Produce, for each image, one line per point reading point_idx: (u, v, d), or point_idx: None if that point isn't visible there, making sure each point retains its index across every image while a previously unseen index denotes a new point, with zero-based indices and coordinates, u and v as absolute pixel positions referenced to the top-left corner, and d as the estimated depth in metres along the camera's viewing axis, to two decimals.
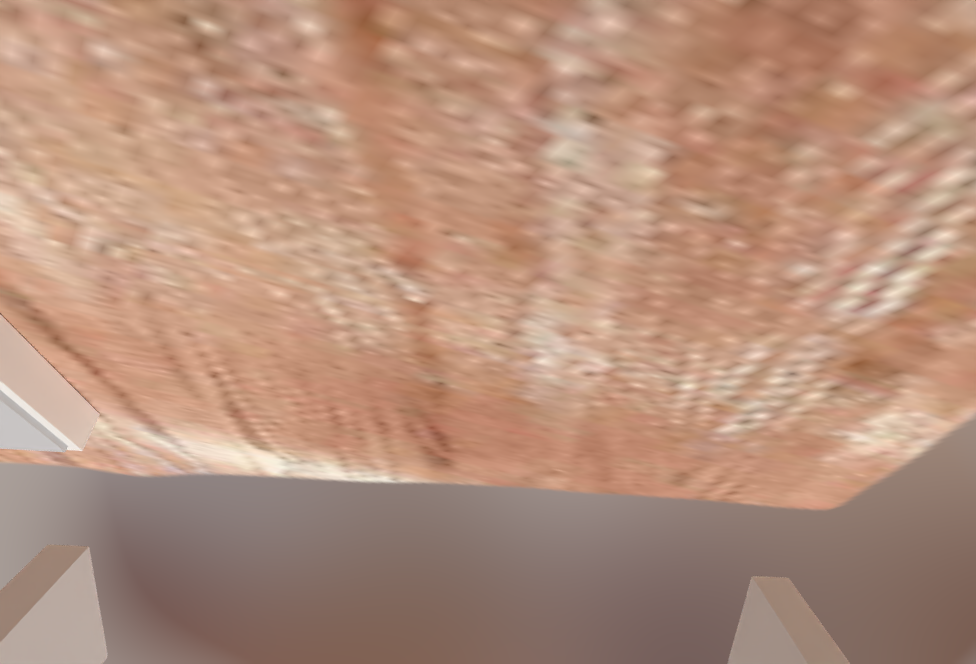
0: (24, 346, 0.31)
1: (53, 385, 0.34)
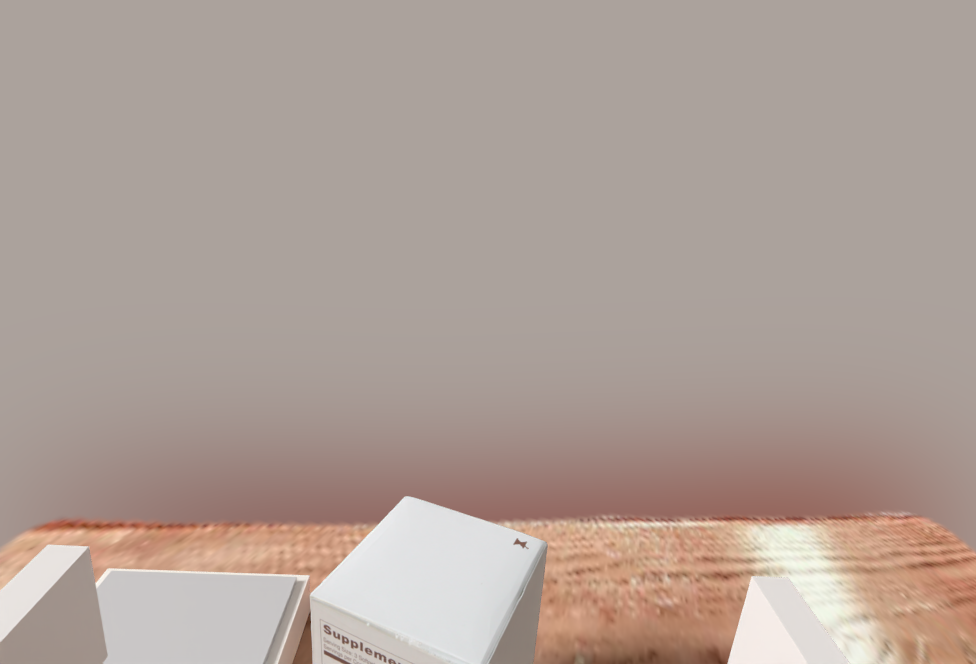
0: None
1: None
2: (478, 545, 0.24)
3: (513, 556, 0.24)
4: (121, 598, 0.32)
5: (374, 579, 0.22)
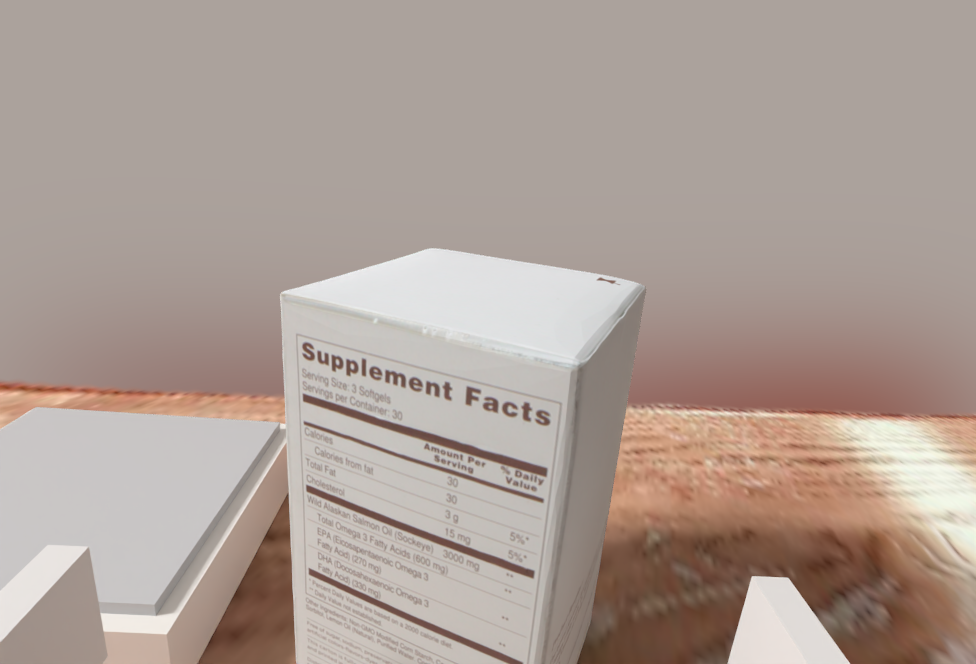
0: None
1: None
2: (544, 277, 0.16)
3: (599, 287, 0.15)
4: (42, 432, 0.24)
5: (386, 286, 0.14)
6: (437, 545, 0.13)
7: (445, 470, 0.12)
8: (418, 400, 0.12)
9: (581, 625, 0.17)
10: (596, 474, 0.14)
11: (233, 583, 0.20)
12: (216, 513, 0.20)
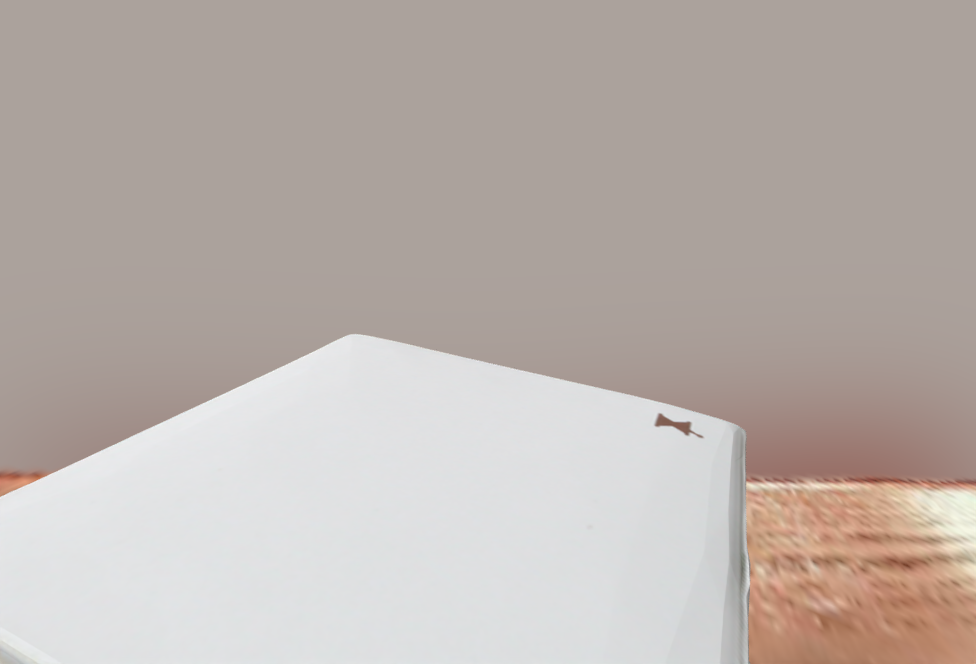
0: None
1: None
2: (553, 425, 0.08)
3: (667, 454, 0.07)
4: None
5: (179, 504, 0.06)
6: None
7: None
8: None
9: None
10: None
11: None
12: None
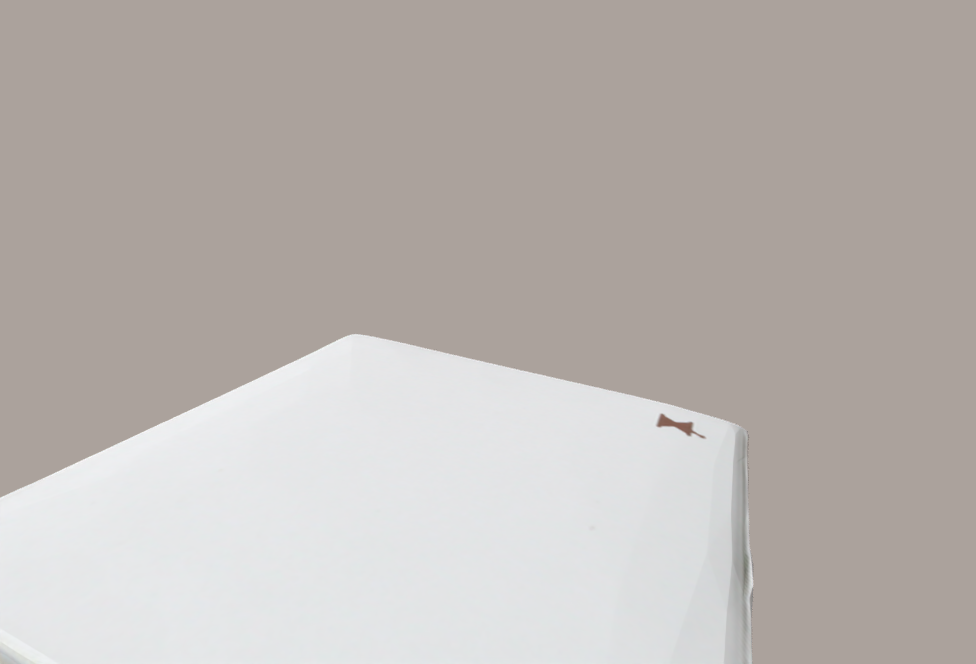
0: None
1: None
2: (555, 425, 0.08)
3: (669, 454, 0.07)
4: None
5: (180, 504, 0.06)
6: None
7: None
8: None
9: None
10: None
11: None
12: None
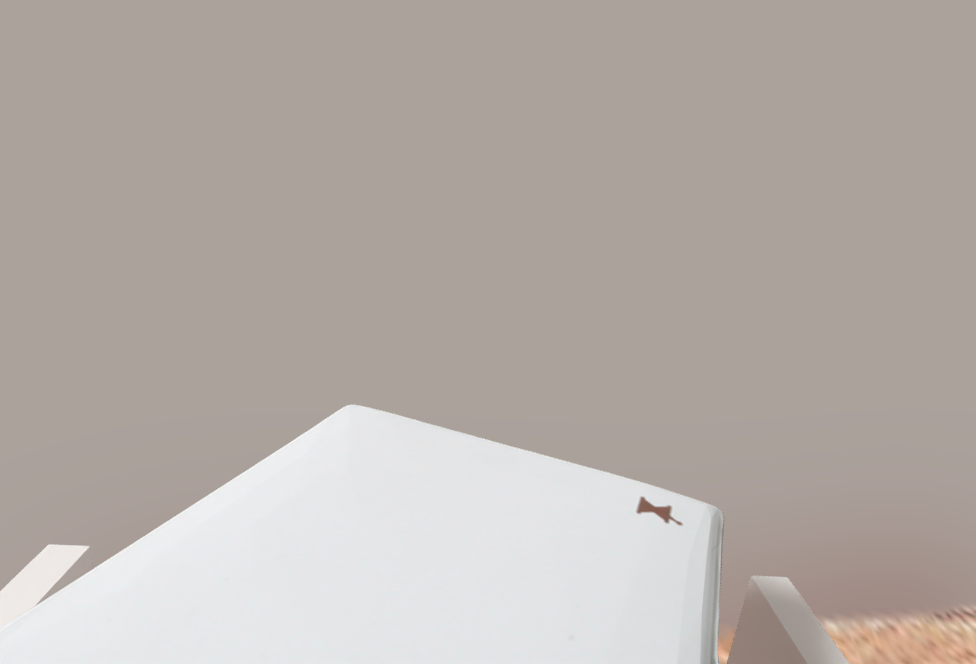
0: None
1: None
2: (541, 514, 0.08)
3: (647, 546, 0.08)
4: None
5: (190, 620, 0.06)
6: None
7: None
8: None
9: None
10: None
11: None
12: None
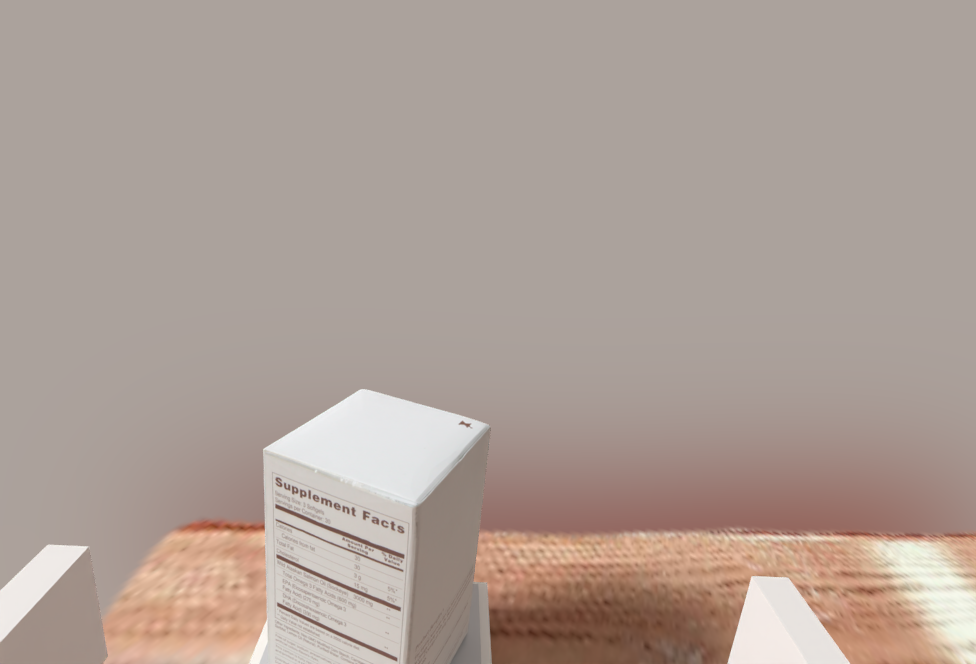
0: None
1: None
2: (425, 423, 0.26)
3: (456, 432, 0.26)
4: None
5: (325, 440, 0.24)
6: (350, 592, 0.23)
7: (353, 552, 0.22)
8: (338, 514, 0.22)
9: (449, 635, 0.27)
10: (445, 549, 0.24)
11: None
12: None
